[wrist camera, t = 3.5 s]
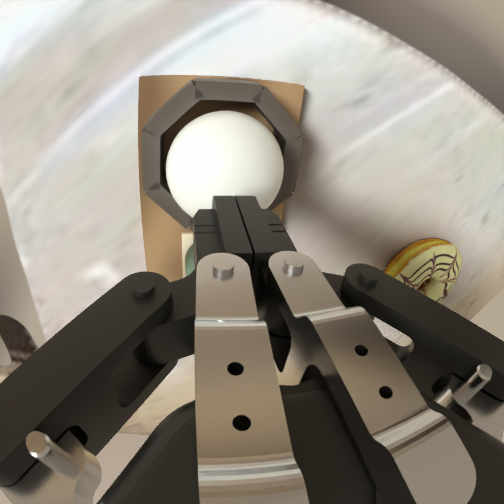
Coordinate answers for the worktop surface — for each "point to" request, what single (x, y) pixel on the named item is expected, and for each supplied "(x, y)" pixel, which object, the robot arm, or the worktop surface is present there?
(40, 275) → the worktop surface
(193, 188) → the white ball
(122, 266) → the worktop surface
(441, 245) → the decorated donut
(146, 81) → the game board
